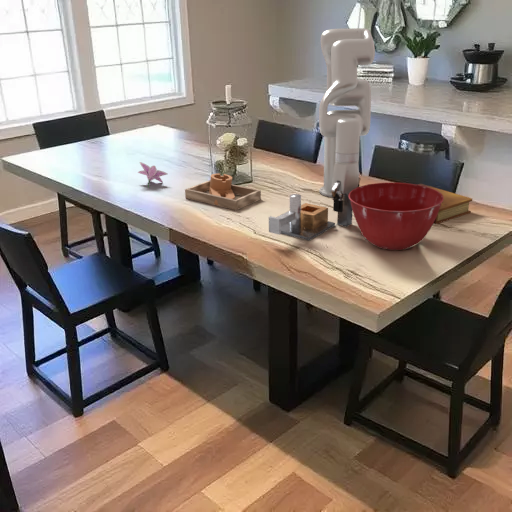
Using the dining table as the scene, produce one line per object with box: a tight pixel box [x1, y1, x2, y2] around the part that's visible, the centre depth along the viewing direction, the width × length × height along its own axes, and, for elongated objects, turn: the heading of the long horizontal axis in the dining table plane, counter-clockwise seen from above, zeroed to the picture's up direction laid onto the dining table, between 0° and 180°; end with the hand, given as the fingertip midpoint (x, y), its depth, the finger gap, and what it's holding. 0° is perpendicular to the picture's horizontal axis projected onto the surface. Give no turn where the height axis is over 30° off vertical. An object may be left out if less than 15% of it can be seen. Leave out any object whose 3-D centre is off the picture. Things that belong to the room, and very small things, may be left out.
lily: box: [137, 161, 168, 188], centre depth 257 cm, size 12×12×10 cm
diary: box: [417, 183, 473, 225], centre depth 223 cm, size 23×19×6 cm
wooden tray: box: [184, 179, 262, 211], centre depth 239 cm, size 15×25×4 cm, turn 53°
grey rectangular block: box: [336, 192, 353, 228], centre depth 210 cm, size 4×4×11 cm
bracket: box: [208, 173, 236, 206], centre depth 238 cm, size 18×8×7 cm, turn 10°
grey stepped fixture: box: [268, 193, 336, 242], centre depth 203 cm, size 25×14×13 cm, turn 143°
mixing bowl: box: [349, 182, 444, 251], centre depth 194 cm, size 28×28×16 cm
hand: (345, 207), depth 209 cm, fingers open, 9 cm apart
